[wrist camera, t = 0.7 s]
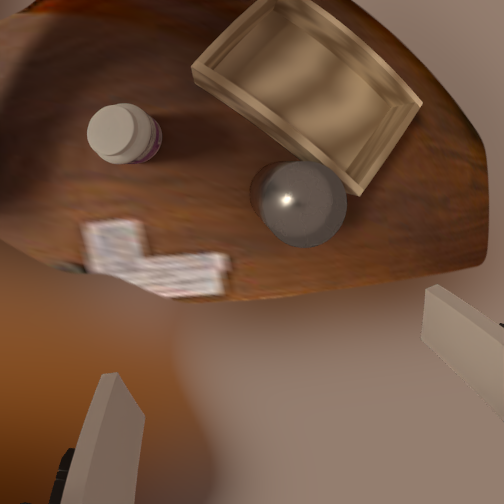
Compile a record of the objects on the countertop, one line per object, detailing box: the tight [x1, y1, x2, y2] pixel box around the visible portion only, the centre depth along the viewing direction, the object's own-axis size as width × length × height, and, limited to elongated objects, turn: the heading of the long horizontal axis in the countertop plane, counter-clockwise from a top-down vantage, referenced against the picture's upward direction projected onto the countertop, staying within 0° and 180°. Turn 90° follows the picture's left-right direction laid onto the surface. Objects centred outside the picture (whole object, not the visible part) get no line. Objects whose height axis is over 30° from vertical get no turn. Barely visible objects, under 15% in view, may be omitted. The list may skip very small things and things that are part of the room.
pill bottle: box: [87, 103, 162, 164], centre depth 23 cm, size 5×5×10 cm
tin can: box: [250, 161, 347, 248], centre depth 27 cm, size 7×7×9 cm
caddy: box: [191, 0, 423, 197], centre depth 25 cm, size 20×14×6 cm
